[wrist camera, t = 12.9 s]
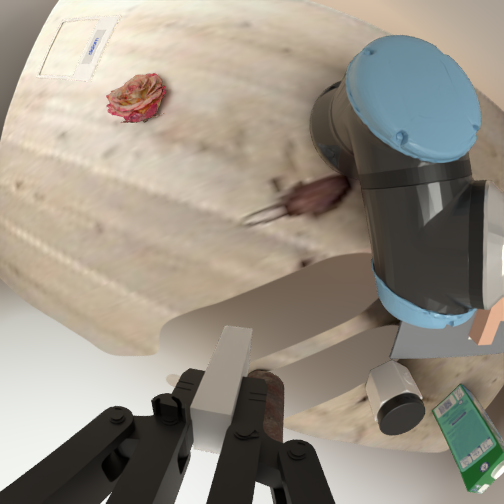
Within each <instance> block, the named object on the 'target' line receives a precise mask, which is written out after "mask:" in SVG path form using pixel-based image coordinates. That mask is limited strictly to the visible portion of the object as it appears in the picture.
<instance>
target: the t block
mask: <svg viewBox="0 0 504 504" xmlns="http://www.w3.org/2000/svg"><path fill="white" fill-rule="evenodd" d="M500 321H504V297H503V298H502V299H501V300H499V301H498V302H497V303H496V304H495V305H494V306H493V307H492V308H491V309H489V310H483V309H478V310H477V313H476V316H475V319H474V321H473V324H472V327H471V330H470V332H469V335H468V336H469V337H470V338H471V339H472V340H473V341H474V342H475V343H476V344H477V345H491V344H492V341H493V339H494V336H495V334H496V331H497V328H498V326H499V323H500Z"/></svg>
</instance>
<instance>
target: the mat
mask: <svg viewBox="0 0 504 504" xmlns="http://www.w3.org/2000/svg"><path fill="white" fill-rule="evenodd" d="M477 310H478V309H476V311H475V312H474V314H473V315H472V317H471V318H470V319H468V320H467V321H466V322H464V323H463V324H460V325H458V326H454V327H452V326H450V325H447V324H446V326H445V328H443V329H429V328H422V327H418V326H414V325H411V324H408V323H406V322H404V321H401V322H400V325H399V328H398V332H397V335H396V338H395V341H394V345H393V347H392V351H391V353H390V356H389V357H390V358H391V359H393V358H394V359H406V358H444V357H462V356H475V355H487V354H497V353H504V321H500V323H499V326H498V328H497V331H496V334H495V336H494V339H493V341H492V344H491V345H477V344H476V343H475V342H474V341H473V340H472V339H471V338H470V337H469V336H468V335H469V332H470V330H471V327H472V324H473V321H474V319H475V316H476V313H477Z"/></svg>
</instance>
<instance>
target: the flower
mask: <svg viewBox="0 0 504 504" xmlns="http://www.w3.org/2000/svg"><path fill="white" fill-rule="evenodd" d="M161 83H162V80H161V79H160V77H159V76H158V75H157V74H156V73H153V74H146V75H135V76H134V77H133V78H132V79H130V80H129V81H127V82H126V83H125V84H124V86H122V87H120V88H118V89H116V90H113V91H111V92H112V93H110V94H109V95H107V98H108V100H109V102H110V104H108V105H107V107H111V108H109V109H108V113H111V114H112V115H117V116H121V117H124V119H125V120H126V121H123V122H121V123H128V122H130V123H134V122H140V121H142V120H143V122H146V121H147V118H154V117H158V116H160V115H158V114H157V113H156V112H157V109H158V107H159V105H160V102H161V100H162V99H163V98H164V97H163V95H164V94H165V93H166V91H165V90H164V89H165V86H162V87H161ZM164 114H165V113H164ZM161 115H162V114H161ZM128 120H130V121H128Z"/></svg>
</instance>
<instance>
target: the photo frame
mask: <svg viewBox="0 0 504 504" xmlns="http://www.w3.org/2000/svg"><path fill="white" fill-rule="evenodd" d="M121 17H122V16H121V15H116V16H95V17H82V18H73V19H64V20H62V22H61V23H60V25H59V27H58V29H57V31H56V33H55V35H54V37H53V39H52V41H51V44H50V46H49V48H48V50H47V52H46V55H45V57H44V59H43V62H42V64H41V67H40V69H39V72H38V74H37V77H36V78H48V79H64V80H76V81H85V82H91V81H92V78H93V76H94V73H95V71H96V68H97V66H98V64H99V61H100V59H101V57H102V55H103V52H104V50H105V48H106V46H107V44H108V42H109V40H110V38H111V36H112V34H113V32H114V30H115V28H116V26H117V24H118V22H119V20H120V18H121ZM85 20H99V21H98V22H97V24H96V26H95V28H94V30H93V32H92V34H91V36H90V38H89V40H88V42H87V44H86V46H85V48H84V51H83V53H82V55H81V57H80V59H79V62H78V64H77V66H76V69H75V71H74V74H73V76H72V77H70V76H54V75H39V74H40V71H41V68H42V66H43V64H44V61H45V59H46V56H47V54H48V52H49V50H50V47H51V45H52V43H53V41H54V39H55V37H56V35H57V33H58V31H59V29H60V27H61V25H62V23H63V22H74V21H85Z"/></svg>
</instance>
